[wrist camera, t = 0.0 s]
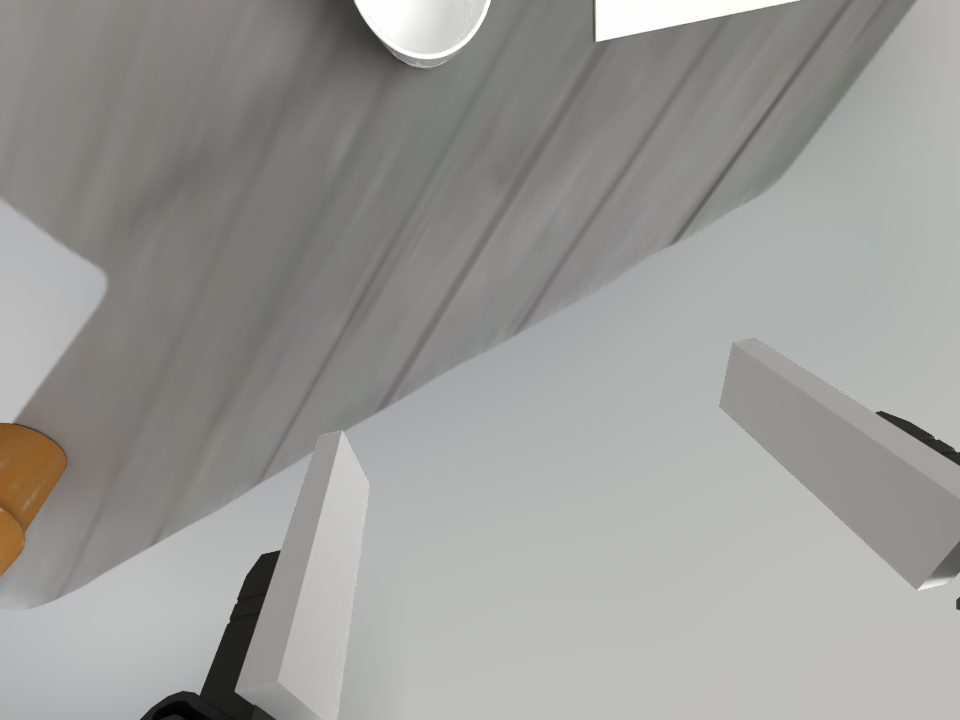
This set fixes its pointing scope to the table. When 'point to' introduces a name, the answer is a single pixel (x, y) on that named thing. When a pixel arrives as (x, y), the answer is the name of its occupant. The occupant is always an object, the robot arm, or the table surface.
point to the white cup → (423, 27)
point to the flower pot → (24, 484)
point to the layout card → (663, 14)
